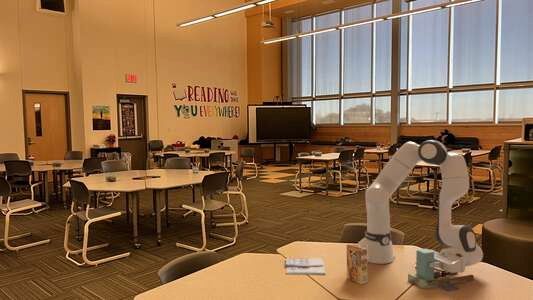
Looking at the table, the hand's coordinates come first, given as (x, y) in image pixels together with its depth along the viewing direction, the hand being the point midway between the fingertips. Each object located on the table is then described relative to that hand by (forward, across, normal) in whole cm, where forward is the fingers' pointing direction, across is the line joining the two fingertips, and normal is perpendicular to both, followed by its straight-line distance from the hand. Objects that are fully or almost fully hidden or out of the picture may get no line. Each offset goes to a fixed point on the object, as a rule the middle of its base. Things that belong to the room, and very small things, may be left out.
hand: (423, 262), depth 174 cm
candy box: (+25, -13, +9) cm, 29 cm away
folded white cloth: (+39, -37, +10) cm, 54 cm away
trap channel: (-8, 0, +9) cm, 12 cm away
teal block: (-1, 0, +7) cm, 7 cm away
